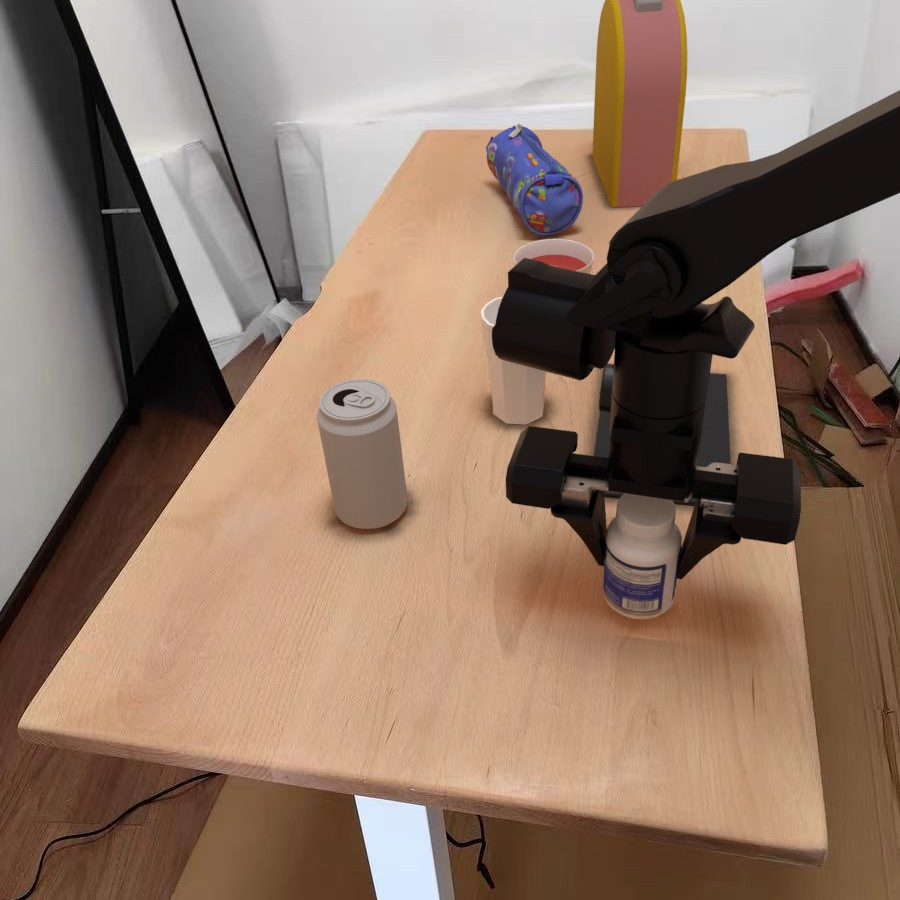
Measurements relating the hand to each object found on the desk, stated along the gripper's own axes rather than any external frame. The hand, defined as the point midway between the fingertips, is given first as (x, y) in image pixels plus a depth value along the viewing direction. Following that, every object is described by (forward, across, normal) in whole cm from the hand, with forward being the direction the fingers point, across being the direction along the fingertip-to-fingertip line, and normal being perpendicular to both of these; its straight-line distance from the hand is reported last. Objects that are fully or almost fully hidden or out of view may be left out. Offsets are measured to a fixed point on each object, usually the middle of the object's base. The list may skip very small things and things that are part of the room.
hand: (641, 568), depth 63 cm
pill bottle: (+3, 0, 0) cm, 3 cm away
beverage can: (+4, +24, -5) cm, 24 cm away
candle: (+4, +15, -43) cm, 46 cm away
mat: (+4, 0, -22) cm, 22 cm away
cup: (+4, +14, -22) cm, 27 cm away
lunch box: (+4, +12, -84) cm, 85 cm away
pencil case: (+4, +24, -70) cm, 74 cm away
